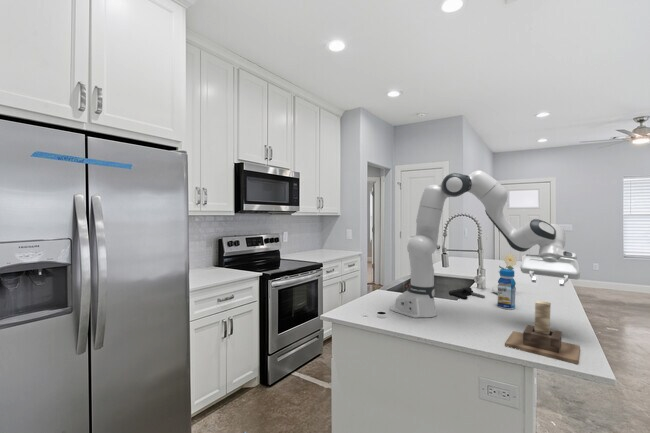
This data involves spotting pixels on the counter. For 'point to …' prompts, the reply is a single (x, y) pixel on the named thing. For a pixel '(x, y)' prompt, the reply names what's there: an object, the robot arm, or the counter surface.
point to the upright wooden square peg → (542, 317)
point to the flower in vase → (509, 261)
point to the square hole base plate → (544, 344)
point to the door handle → (464, 293)
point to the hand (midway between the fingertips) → (547, 283)
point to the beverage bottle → (506, 289)
